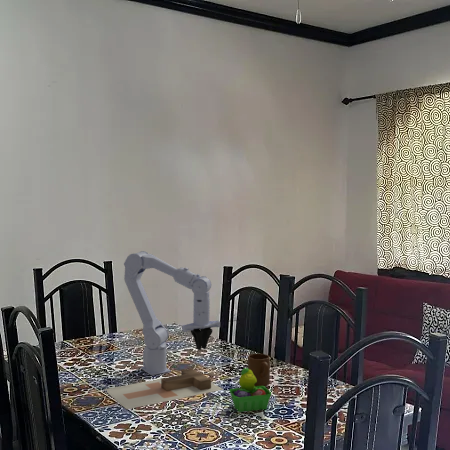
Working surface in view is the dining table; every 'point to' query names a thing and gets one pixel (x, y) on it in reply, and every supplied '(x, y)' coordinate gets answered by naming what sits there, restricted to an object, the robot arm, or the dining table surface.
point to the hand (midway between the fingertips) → (201, 348)
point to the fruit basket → (249, 393)
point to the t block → (186, 381)
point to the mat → (152, 393)
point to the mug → (260, 368)
